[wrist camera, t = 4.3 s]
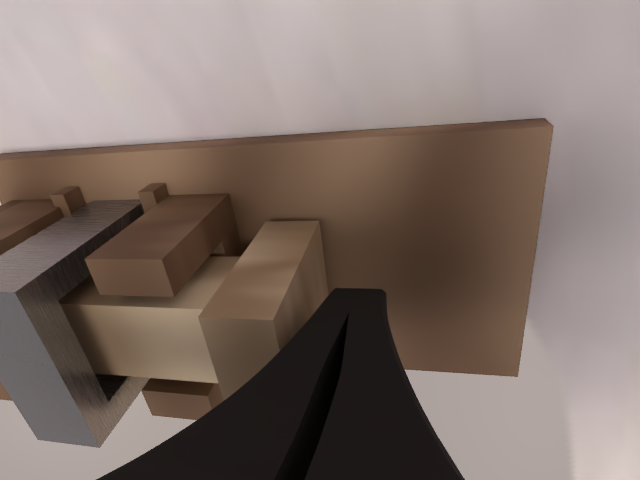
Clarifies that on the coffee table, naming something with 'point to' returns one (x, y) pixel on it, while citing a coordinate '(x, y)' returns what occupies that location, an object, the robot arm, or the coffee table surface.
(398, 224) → the jig
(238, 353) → the shaft
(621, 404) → the coffee table surface
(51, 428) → the collar
